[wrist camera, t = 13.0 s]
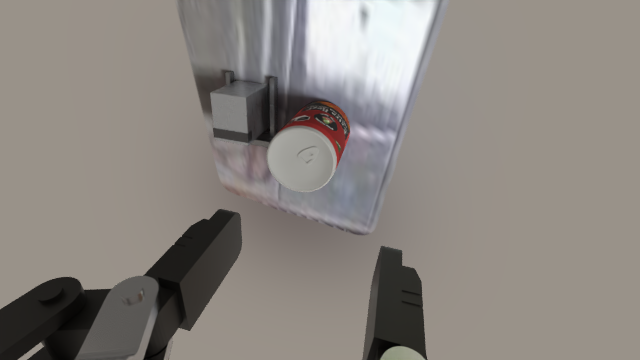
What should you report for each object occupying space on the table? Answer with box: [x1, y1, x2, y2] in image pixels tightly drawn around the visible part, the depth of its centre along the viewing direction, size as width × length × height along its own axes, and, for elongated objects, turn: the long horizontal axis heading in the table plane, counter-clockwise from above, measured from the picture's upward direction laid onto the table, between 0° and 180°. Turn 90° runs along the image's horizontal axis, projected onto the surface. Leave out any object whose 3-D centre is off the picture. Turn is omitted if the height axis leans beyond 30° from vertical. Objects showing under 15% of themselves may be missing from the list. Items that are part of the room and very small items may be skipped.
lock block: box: [210, 80, 269, 146], centre depth 40 cm, size 6×5×7 cm
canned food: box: [267, 101, 350, 192], centre depth 38 cm, size 8×8×11 cm
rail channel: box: [225, 71, 277, 147], centre depth 42 cm, size 9×7×3 cm
